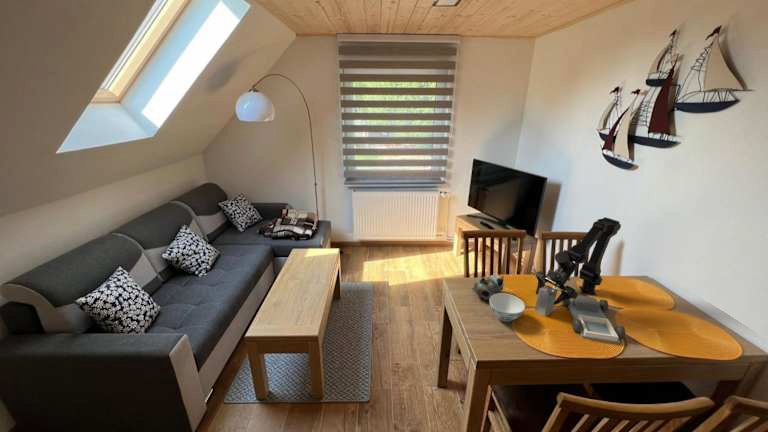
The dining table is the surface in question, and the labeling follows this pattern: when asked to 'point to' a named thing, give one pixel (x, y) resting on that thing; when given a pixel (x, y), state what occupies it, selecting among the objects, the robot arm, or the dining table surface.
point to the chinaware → (506, 306)
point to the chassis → (593, 319)
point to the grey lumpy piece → (489, 286)
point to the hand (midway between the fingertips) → (544, 299)
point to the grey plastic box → (545, 300)
